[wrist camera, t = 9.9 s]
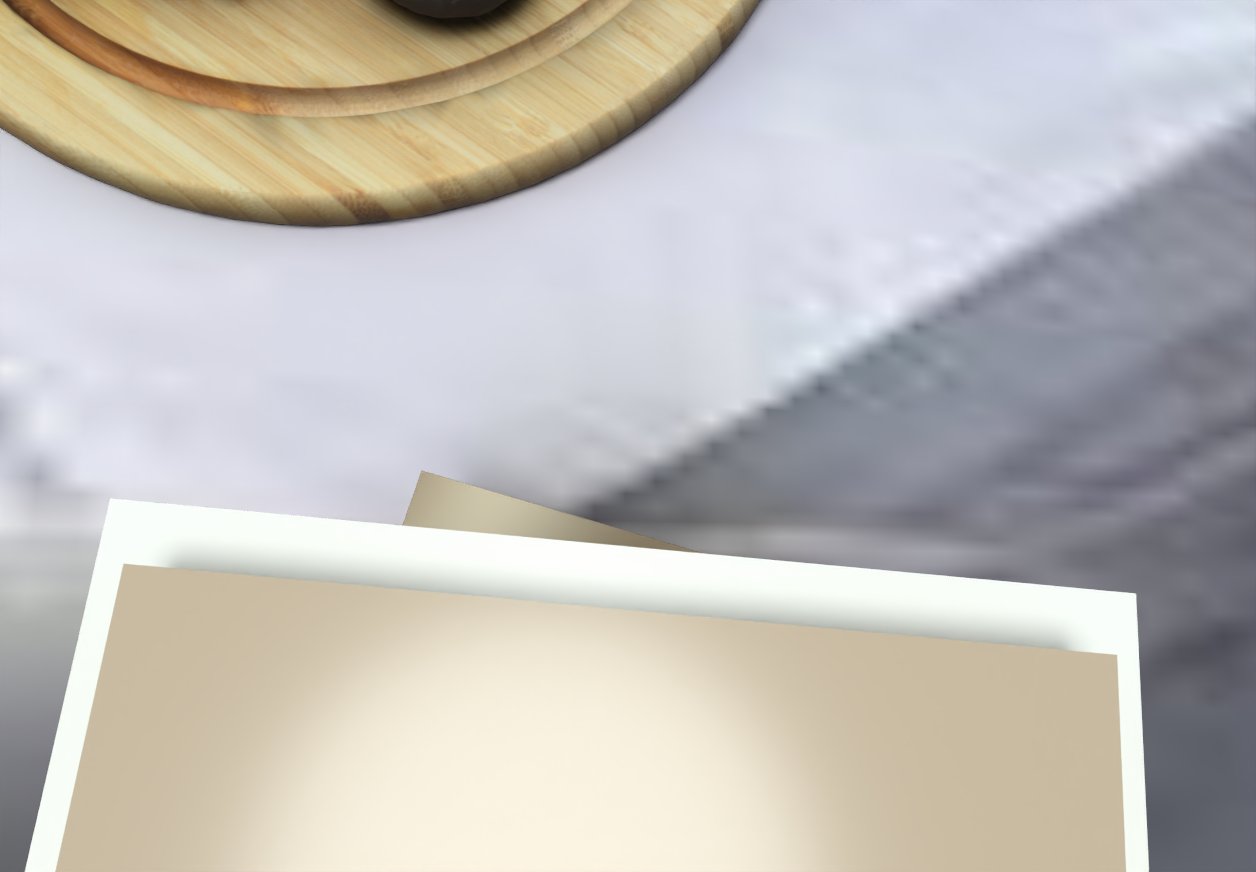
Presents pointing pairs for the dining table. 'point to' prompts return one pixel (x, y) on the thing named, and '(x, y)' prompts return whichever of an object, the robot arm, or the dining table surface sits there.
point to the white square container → (577, 710)
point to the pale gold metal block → (509, 516)
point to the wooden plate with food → (343, 95)
